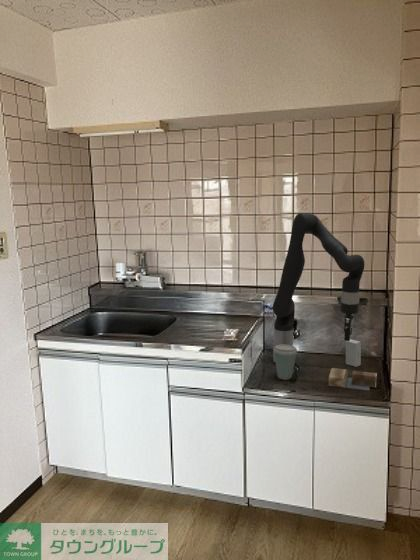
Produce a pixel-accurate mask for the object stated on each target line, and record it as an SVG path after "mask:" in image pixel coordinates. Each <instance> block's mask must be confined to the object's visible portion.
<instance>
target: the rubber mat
mask: <svg viewBox="0 0 420 560" xmlns="http://www.w3.org/2000/svg"><path fill="white" fill-rule="evenodd" d="M345 388H346V389H350V390H351V389H352V390H360V391H368V392H370V388H371V387H367V386H359V385H352V377H348V376H347V381H346V385H345Z"/></svg>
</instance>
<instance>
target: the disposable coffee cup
mask: <svg viewBox="0 0 420 560" xmlns="http://www.w3.org/2000/svg"><path fill="white" fill-rule="evenodd" d="M274 352H275V361H276V363H275V369H276V376H277V378H278V379H279V380H282V381H283V380H285V381H287V380H291V378H292V376H293V374H294V373H293V372H294V368H295V362H296V357H297V353H298V350H297V347H296V346H294V345H293V346H292V345H283V344H282V345H277V346H275V348H274Z"/></svg>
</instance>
